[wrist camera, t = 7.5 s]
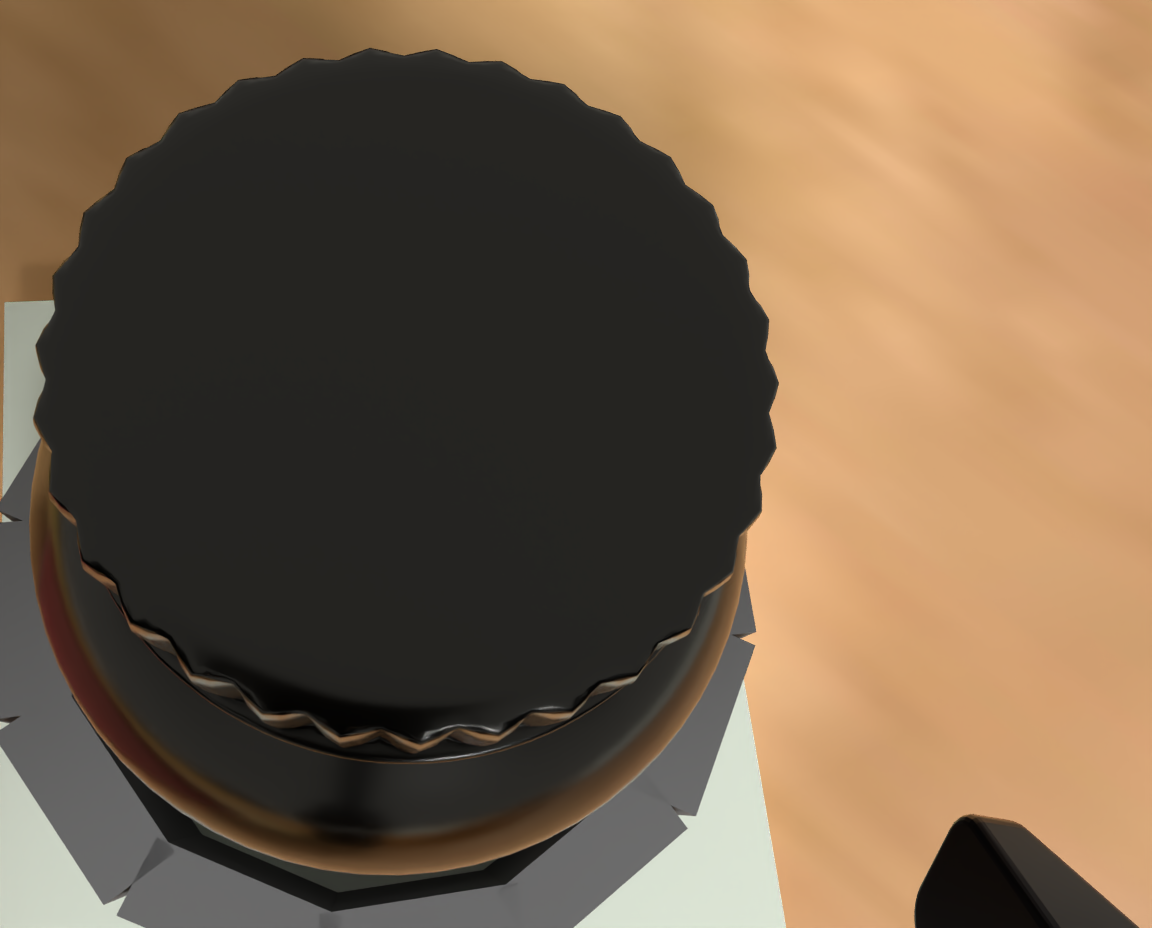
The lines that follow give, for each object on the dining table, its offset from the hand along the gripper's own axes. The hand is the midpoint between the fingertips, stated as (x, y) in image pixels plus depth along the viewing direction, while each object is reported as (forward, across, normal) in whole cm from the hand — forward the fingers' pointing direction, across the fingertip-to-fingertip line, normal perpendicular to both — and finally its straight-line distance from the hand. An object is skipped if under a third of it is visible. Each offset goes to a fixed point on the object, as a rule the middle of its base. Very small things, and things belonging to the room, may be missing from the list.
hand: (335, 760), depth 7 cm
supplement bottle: (+10, 0, +6) cm, 11 cm away
